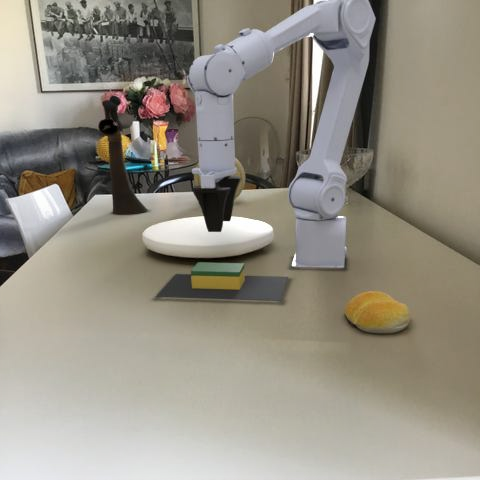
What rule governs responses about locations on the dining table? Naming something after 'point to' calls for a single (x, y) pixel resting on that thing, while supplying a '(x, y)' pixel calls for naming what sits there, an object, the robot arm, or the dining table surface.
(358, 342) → the dining table surface
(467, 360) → the dining table surface
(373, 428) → the dining table surface
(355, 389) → the dining table surface
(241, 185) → the cantaloupe
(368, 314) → the bread roll
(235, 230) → the plate
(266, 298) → the sponge mat
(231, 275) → the sponge
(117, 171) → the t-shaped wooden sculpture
